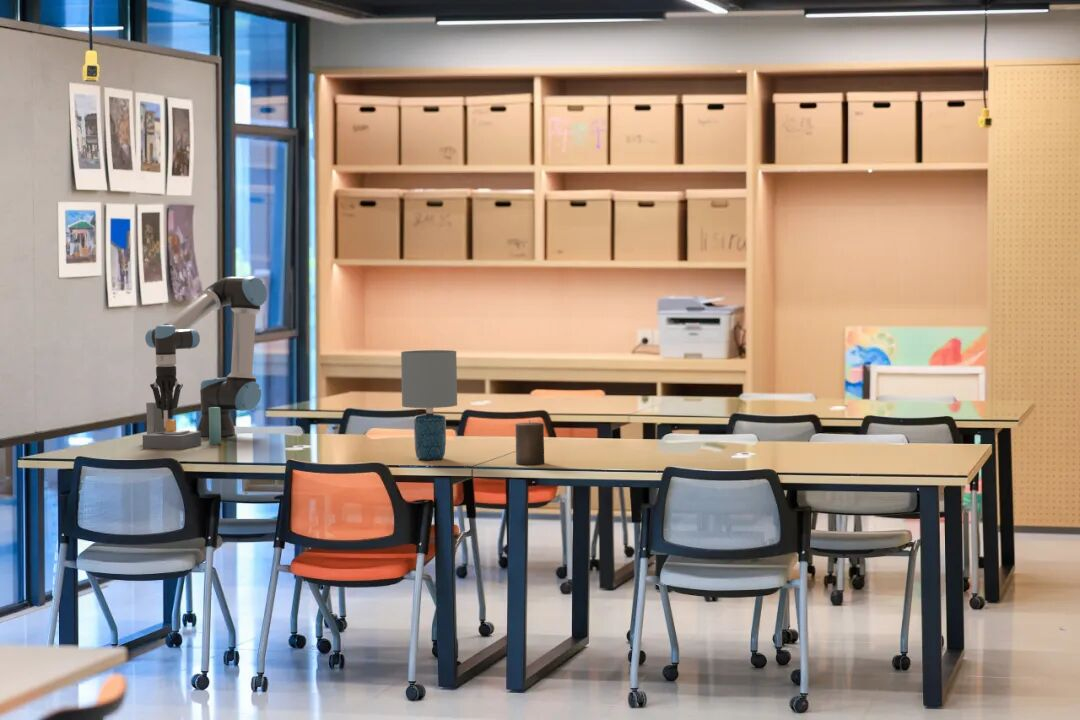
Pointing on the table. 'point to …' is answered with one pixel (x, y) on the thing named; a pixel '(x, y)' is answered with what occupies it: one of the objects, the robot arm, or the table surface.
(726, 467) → the table surface
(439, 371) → the lamp
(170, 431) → the shutter
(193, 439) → the socket
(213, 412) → the plug peg
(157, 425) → the skincare box
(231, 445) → the table surface
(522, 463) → the pillar candle
